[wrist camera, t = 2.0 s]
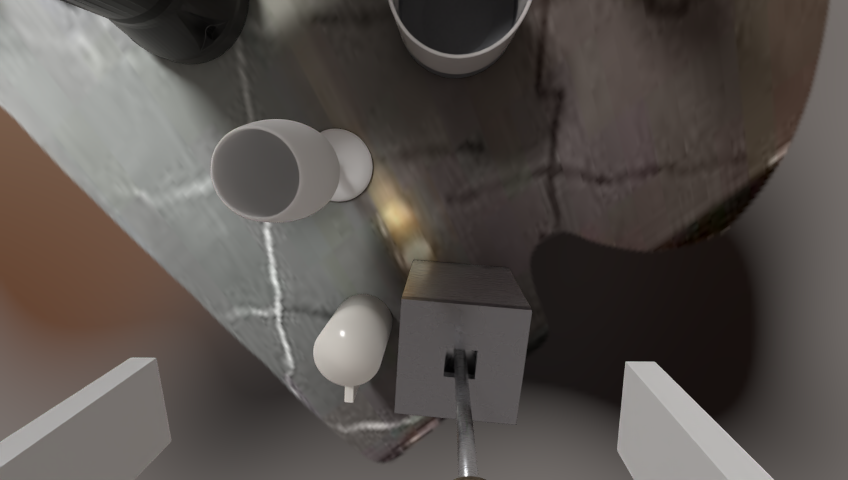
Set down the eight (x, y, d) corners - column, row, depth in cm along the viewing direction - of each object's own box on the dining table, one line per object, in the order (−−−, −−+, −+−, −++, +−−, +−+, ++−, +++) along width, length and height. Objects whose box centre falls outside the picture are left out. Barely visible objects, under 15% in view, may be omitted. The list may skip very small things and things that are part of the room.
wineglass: (355, 117, 46) (283, 87, 26) (384, 185, 48) (337, 209, 27) (290, 145, 47) (172, 138, 27) (320, 211, 49) (230, 252, 28)
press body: (407, 346, 52) (394, 413, 39) (413, 259, 50) (401, 298, 36) (497, 354, 52) (516, 425, 38) (508, 267, 49) (532, 310, 36)
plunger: (411, 382, 42) (370, 649, 19) (417, 299, 40) (379, 490, 17) (499, 390, 41) (563, 672, 19) (510, 307, 39) (596, 513, 17)
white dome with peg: (334, 365, 53) (312, 407, 45) (336, 291, 51) (313, 320, 42) (389, 370, 53) (378, 413, 44) (393, 296, 51) (383, 326, 42)
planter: (519, -47, 42) (543, -112, 32) (510, 81, 45) (530, 59, 34) (399, -47, 42) (385, -111, 32) (398, 79, 45) (384, 57, 35)
